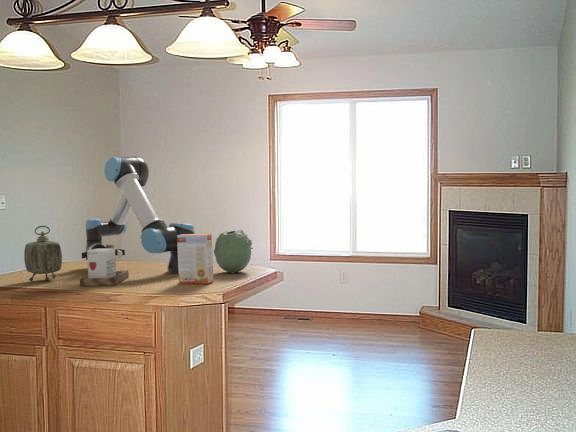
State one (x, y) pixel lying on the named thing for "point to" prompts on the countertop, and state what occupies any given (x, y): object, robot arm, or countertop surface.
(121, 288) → the countertop surface
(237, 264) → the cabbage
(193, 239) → the cracker box
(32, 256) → the tabletop clock
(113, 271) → the supplement box
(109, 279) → the wooden tray
